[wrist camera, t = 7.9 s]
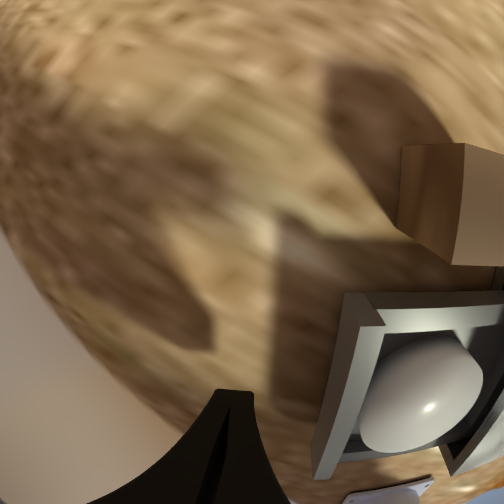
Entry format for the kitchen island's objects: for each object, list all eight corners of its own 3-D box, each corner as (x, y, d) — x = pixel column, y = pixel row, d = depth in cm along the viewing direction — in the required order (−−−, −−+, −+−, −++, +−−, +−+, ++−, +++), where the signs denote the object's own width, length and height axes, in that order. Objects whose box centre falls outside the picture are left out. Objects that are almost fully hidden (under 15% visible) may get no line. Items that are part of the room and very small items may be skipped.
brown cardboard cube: (457, 233, 10) (519, 266, 6) (395, 228, 10) (451, 264, 6) (464, 159, 9) (533, 166, 5) (401, 146, 9) (464, 143, 5)
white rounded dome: (341, 433, 11) (346, 459, 10) (372, 338, 10) (384, 365, 8) (440, 419, 11) (450, 440, 9) (483, 330, 9) (502, 350, 8)
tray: (465, 421, 12) (479, 446, 9) (310, 444, 12) (312, 480, 10) (526, 289, 9) (554, 309, 7) (344, 291, 10) (360, 326, 7)
